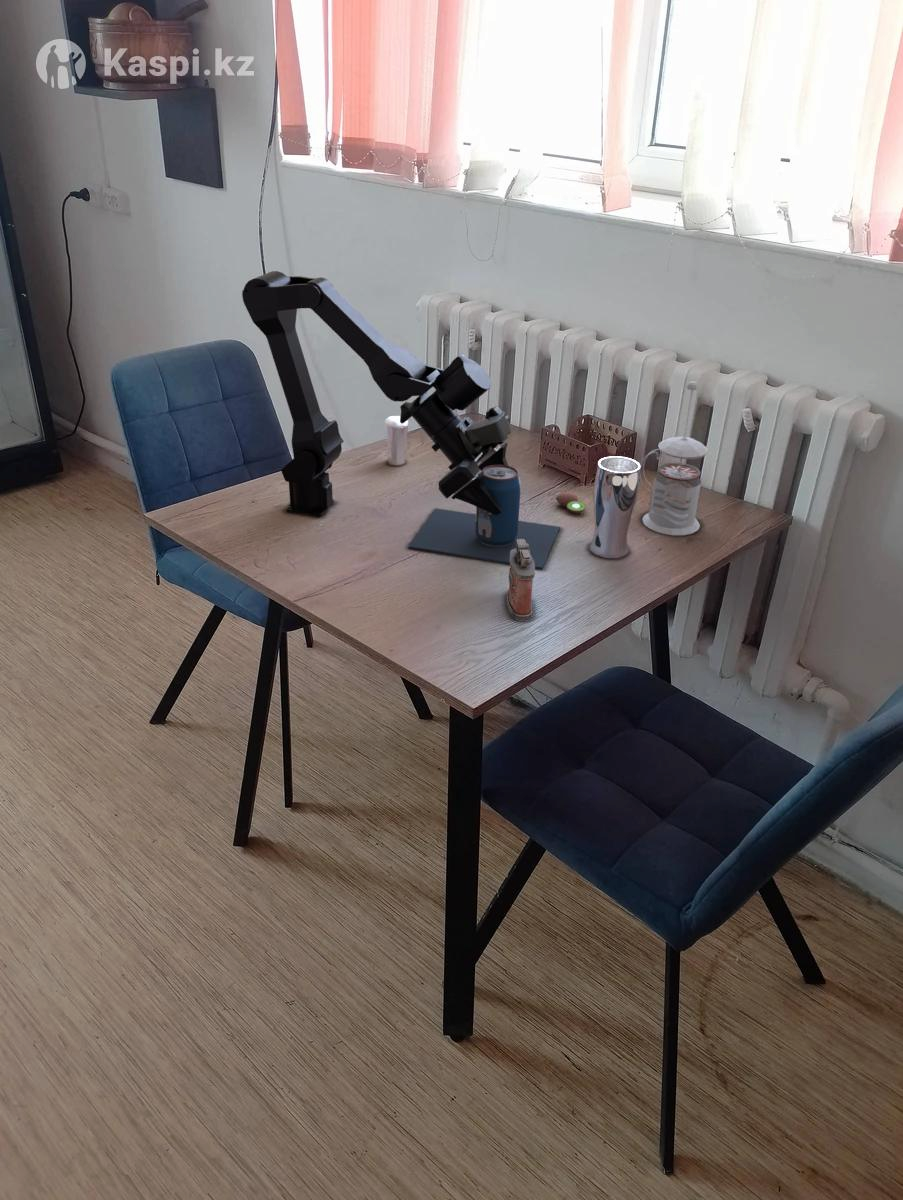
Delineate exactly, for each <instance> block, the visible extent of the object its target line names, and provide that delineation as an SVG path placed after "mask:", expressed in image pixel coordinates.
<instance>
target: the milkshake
mask: <svg viewBox="0 0 903 1200" xmlns="http://www.w3.org/2000/svg"><path fill="white" fill-rule="evenodd" d="M400 416H401V415H390V416H387V418H386V419H385V420H384V422H383V423H384V425H383V426H384V432H385V434H384V435H385V439H386V448H387V449H386V450H387V452H386V453H387V462H388V464H389V465H391V466H397V467H398V466H402V465H404V464H405V463H406V452H407V439H408V431H409V423H410V421H411V419H412V418H413V417H412V416H411V417H410V418H409V419H408V420H407V421H406V422H404V423H401V422H400Z"/></svg>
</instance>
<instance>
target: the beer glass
mask: <svg viewBox="0 0 903 1200" xmlns="http://www.w3.org/2000/svg"><path fill="white" fill-rule="evenodd" d="M640 472H641V471H640V462H638V461H636V460H635V459H632V458H630V457H626V456H606V457H602V458H600V459H599V460H598V461H597V467H596V471H595V477H594V483H593V492H592V494H593V495H592V496H593V499H592V501H593V515H594V532H593V535H592V538H591V542H590V545H589V550H590V552H591V553H592V554H594V555H595V556H598V557H600V558H603V559H610V560H611V559H620V558H623V557H625V556H626V555H627V554H628V552H629V547H628V532H629V527H630V524H631V521H632V518H633V516H634V515H633V514H634V511H635V509H636V507H637V506H636V505H637V502H638V497H639V492H640V491H639V490H640V482H641V480H640Z"/></svg>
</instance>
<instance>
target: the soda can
mask: <svg viewBox="0 0 903 1200" xmlns="http://www.w3.org/2000/svg"><path fill="white" fill-rule="evenodd" d="M482 471H484V485H485V486H486V488H487V489H488V491H489V492H490V494H491V495H492V496H493V498H494V499H495V501H496V502H497V504H498V506H499V507H500V509H501V513H500V514H498V515H494V514H492V513H490V512H488V511H485V510H483V509H481V508H479V507H477V506H475V507H476V508H475V514H476V527H475V532H476V535H477V537H478V538H479V540H480V542H481V543H483V544H485V545H487V546H491V547H504V546H507V545H510V544H511V543H512V542H513V541H514V539H515V538H516V536H517V534H518V521H520V520H519V519H520V505H521V503H520V502H521V489H522V487H521V486H522V482H521V479H520V477H519V472H518V470H517V469H516V468H515V467H513V466H510V465H508V466H507V465H490V466H487V467H485V468H483V469H482ZM482 471H481V472H482Z"/></svg>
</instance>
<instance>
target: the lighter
mask: <svg viewBox="0 0 903 1200" xmlns="http://www.w3.org/2000/svg"><path fill="white" fill-rule="evenodd" d="M535 573H536V569H535V564H534V560H533V558H532V556H531V555H530V550H529V544H526V542H525V540H524V539H518V540H517V547H516V549H512V550H511V551H510V564H509V568H508V582H509V583H508V584H509V585H508V590H507V595H506V606H507V609H508V612H509V614H510V615H511V616H512V618H513V619H514V620H515V621H518V622H526V621H529V620H531V619H532V613H533V604H532V594H533V583H534V582H533V580H534V578H535V576H536V575H535Z"/></svg>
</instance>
